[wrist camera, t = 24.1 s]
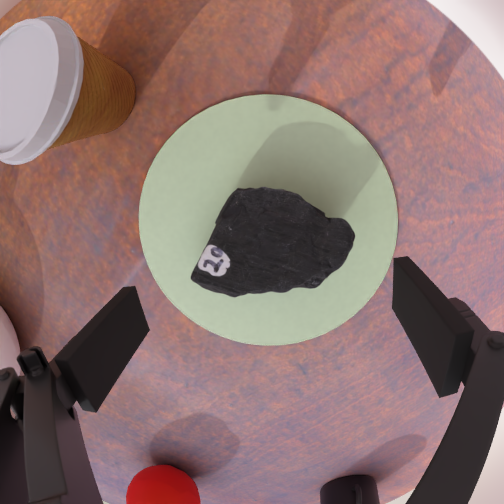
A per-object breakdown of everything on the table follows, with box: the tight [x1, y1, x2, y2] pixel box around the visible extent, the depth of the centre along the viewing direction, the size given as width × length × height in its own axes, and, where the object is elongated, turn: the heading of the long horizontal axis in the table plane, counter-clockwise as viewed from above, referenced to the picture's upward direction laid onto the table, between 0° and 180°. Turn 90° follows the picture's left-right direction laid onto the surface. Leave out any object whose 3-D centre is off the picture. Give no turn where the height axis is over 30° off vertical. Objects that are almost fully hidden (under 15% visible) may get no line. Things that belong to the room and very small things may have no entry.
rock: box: [191, 187, 355, 298], centre depth 23 cm, size 9×10×6 cm
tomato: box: [126, 465, 200, 504], centre depth 34 cm, size 12×12×13 cm
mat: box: [139, 94, 398, 346], centre depth 25 cm, size 22×22×1 cm
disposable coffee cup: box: [0, 16, 136, 165], centre depth 17 cm, size 10×10×12 cm
